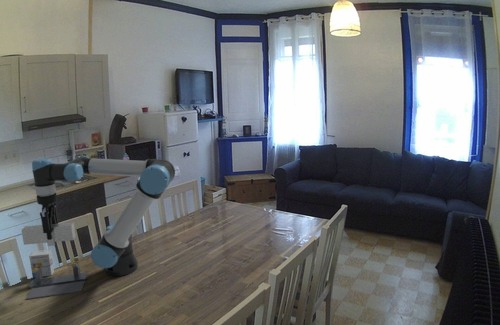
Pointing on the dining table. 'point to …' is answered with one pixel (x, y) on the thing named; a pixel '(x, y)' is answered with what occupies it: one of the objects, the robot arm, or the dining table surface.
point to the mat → (55, 290)
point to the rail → (37, 236)
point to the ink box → (46, 260)
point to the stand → (58, 280)
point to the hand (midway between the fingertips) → (53, 243)
